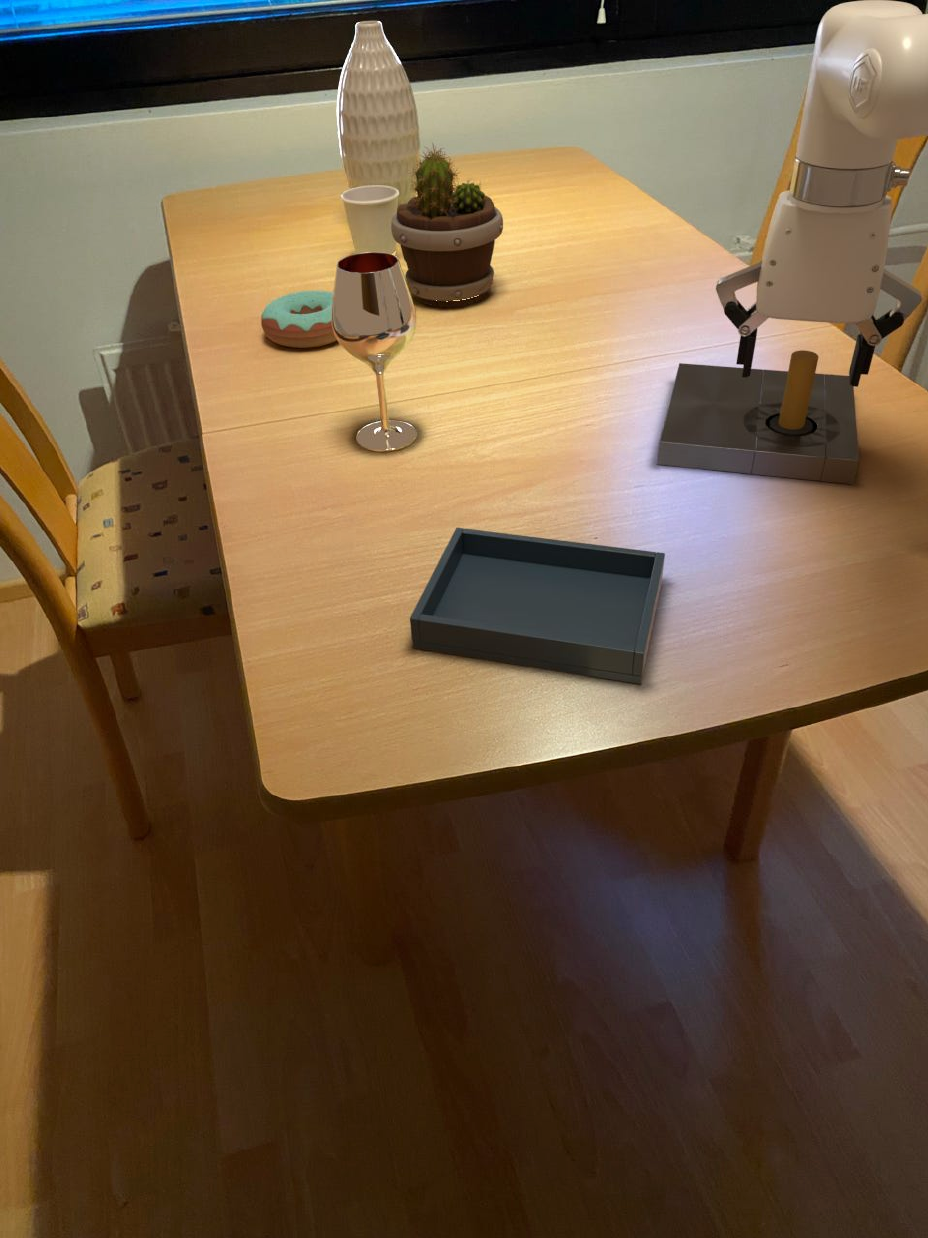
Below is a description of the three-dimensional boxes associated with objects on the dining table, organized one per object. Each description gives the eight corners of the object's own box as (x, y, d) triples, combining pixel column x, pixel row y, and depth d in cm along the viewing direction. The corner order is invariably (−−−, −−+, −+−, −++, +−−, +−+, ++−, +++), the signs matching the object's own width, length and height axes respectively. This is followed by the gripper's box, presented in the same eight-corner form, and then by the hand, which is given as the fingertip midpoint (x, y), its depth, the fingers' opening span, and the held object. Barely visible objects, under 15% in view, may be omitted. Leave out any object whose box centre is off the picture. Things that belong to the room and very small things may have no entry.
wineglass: (440, 439, 96) (428, 263, 85) (372, 464, 93) (350, 284, 81) (399, 411, 101) (383, 241, 90) (333, 434, 98) (308, 261, 87)
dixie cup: (341, 272, 136) (332, 200, 130) (359, 253, 143) (351, 184, 136) (395, 274, 135) (389, 202, 128) (411, 255, 141) (406, 185, 135)
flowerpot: (425, 270, 135) (414, 118, 123) (522, 282, 130) (521, 124, 117) (376, 306, 125) (358, 144, 113) (479, 321, 120) (473, 152, 107)
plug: (808, 439, 93) (827, 348, 87) (807, 458, 90) (827, 366, 84) (766, 435, 94) (782, 345, 88) (765, 454, 91) (781, 362, 85)
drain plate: (847, 397, 99) (853, 375, 98) (852, 484, 86) (859, 460, 84) (676, 383, 104) (679, 362, 102) (656, 464, 90) (659, 441, 89)
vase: (370, 208, 161) (351, 15, 143) (437, 214, 157) (425, 16, 139) (334, 230, 152) (308, 28, 134) (404, 237, 148) (387, 29, 130)
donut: (244, 344, 118) (238, 313, 115) (300, 310, 126) (295, 280, 123) (322, 359, 113) (317, 327, 110) (374, 323, 121) (371, 292, 118)
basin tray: (661, 582, 76) (665, 552, 74) (641, 684, 67) (644, 653, 65) (458, 555, 80) (456, 526, 78) (412, 648, 71) (409, 618, 69)
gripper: (947, 172, 77) (894, 366, 88) (733, 165, 81) (708, 351, 92) (958, 199, 72) (900, 402, 83) (727, 191, 76) (701, 385, 87)
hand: (799, 375), depth 87 cm, fingers open, 9 cm apart
